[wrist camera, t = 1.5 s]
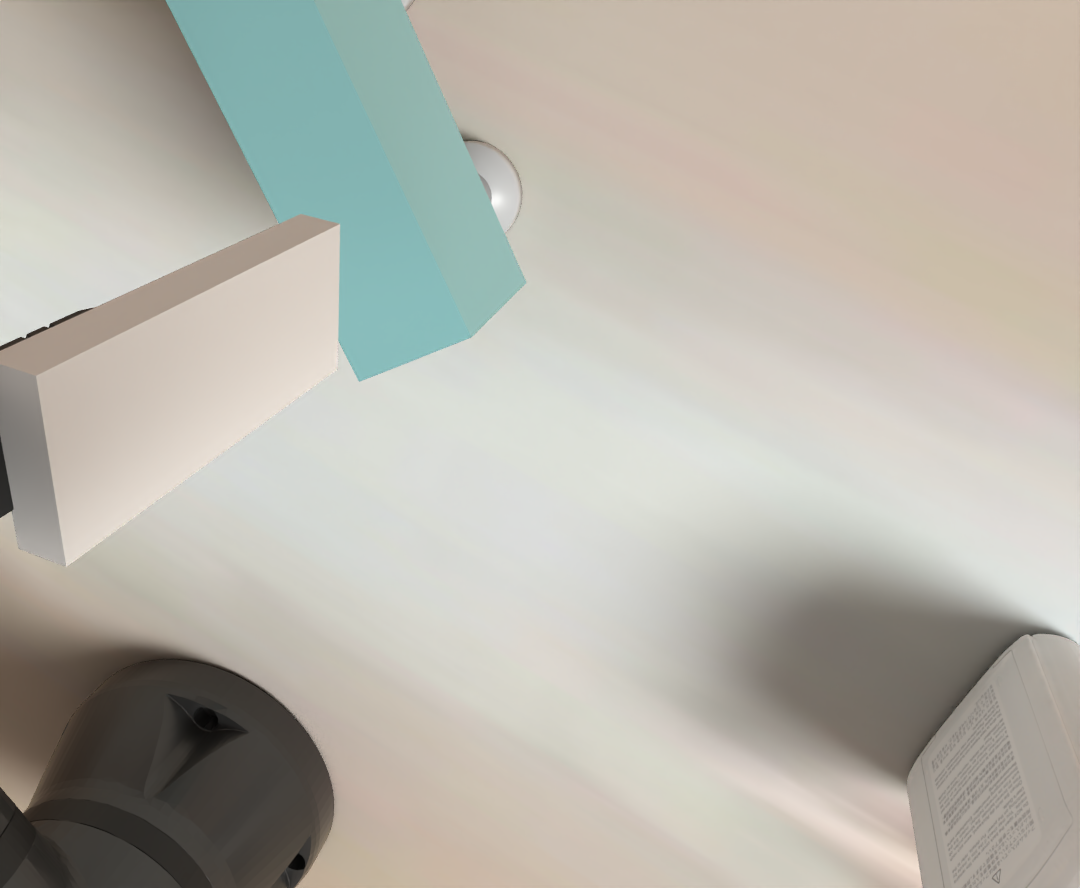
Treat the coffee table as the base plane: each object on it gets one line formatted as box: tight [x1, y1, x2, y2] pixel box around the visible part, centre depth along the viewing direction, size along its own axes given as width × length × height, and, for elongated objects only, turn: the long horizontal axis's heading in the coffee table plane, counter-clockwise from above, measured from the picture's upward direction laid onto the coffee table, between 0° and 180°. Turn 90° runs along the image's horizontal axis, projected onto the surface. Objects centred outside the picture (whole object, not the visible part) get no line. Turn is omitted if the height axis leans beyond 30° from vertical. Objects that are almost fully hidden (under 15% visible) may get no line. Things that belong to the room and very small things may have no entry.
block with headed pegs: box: [166, 0, 526, 382], centre depth 33 cm, size 4×16×12 cm, turn 24°
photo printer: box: [907, 634, 1080, 888], centre depth 38 cm, size 10×4×12 cm, turn 157°
